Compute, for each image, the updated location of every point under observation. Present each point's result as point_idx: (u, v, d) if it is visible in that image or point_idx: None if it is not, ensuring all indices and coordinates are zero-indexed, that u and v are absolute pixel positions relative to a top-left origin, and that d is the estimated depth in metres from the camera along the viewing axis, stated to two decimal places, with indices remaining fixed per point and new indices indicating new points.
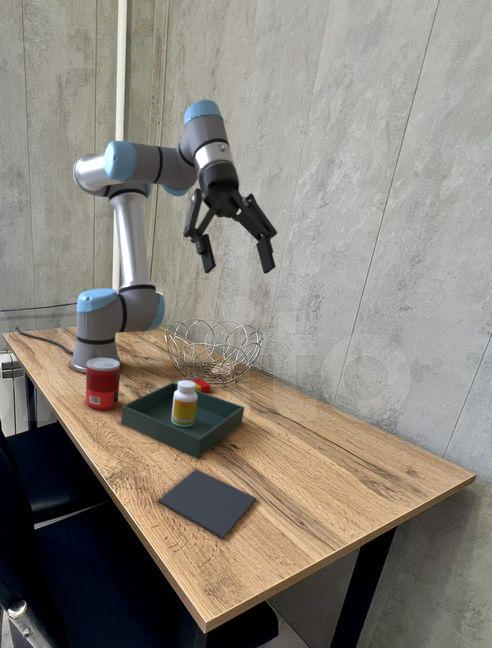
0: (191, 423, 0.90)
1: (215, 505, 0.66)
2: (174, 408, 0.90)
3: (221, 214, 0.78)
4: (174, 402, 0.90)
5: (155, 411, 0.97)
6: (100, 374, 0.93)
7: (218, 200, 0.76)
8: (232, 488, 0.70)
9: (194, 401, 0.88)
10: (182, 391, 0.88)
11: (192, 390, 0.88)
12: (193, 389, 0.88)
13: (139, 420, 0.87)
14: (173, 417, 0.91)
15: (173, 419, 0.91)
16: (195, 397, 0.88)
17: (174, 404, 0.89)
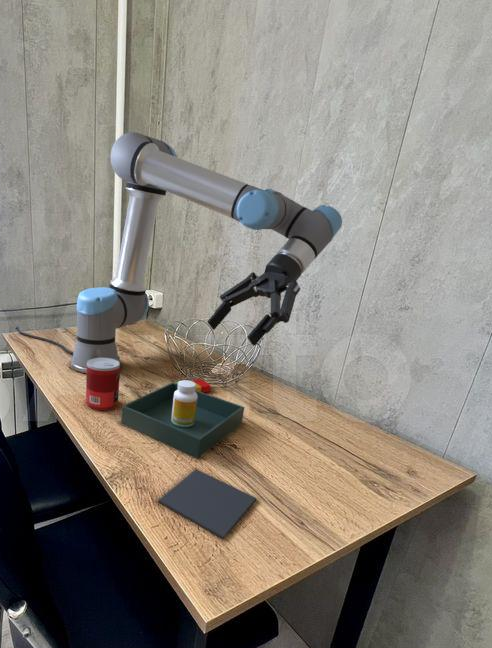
0: (191, 423, 0.90)
1: (215, 505, 0.66)
2: (174, 408, 0.90)
3: (267, 295, 0.90)
4: (174, 402, 0.90)
5: (155, 411, 0.97)
6: (100, 374, 0.93)
7: None
8: (232, 488, 0.70)
9: (194, 401, 0.88)
10: (182, 391, 0.88)
11: (192, 390, 0.88)
12: (193, 389, 0.88)
13: (139, 420, 0.87)
14: (173, 417, 0.91)
15: (173, 419, 0.91)
16: (195, 397, 0.88)
17: (174, 404, 0.89)
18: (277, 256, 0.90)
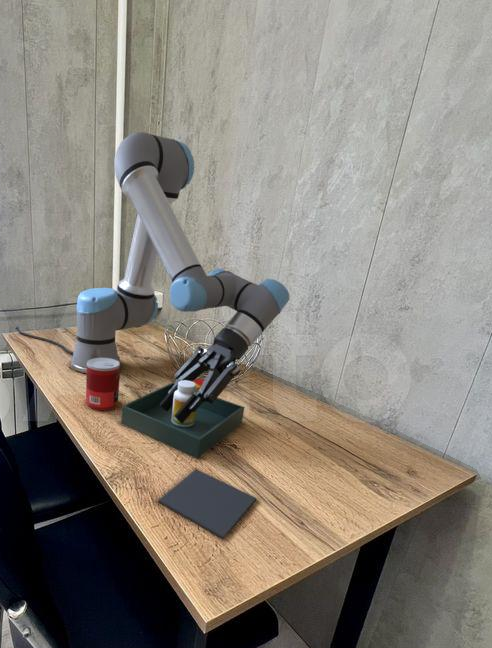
0: (191, 423, 0.90)
1: (215, 505, 0.66)
2: (174, 408, 0.90)
3: None
4: (174, 402, 0.90)
5: (155, 411, 0.97)
6: (100, 374, 0.93)
7: None
8: (232, 488, 0.70)
9: None
10: (182, 391, 0.88)
11: (192, 390, 0.88)
12: (193, 389, 0.88)
13: (139, 420, 0.87)
14: (173, 417, 0.91)
15: (173, 419, 0.91)
16: None
17: (174, 404, 0.89)
18: (224, 331, 0.90)
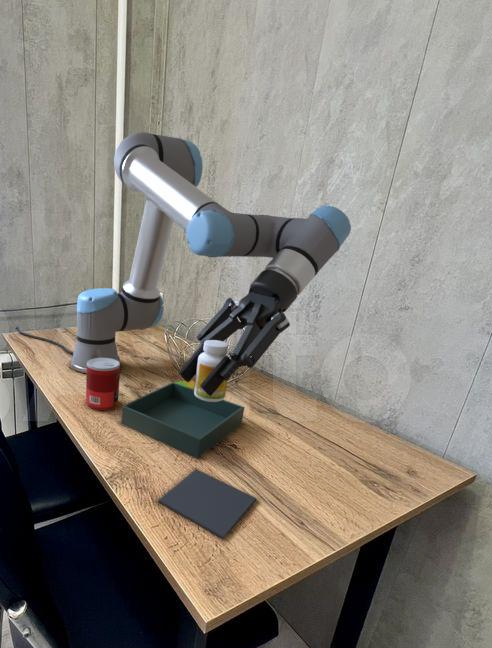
0: (221, 397, 0.68)
1: (215, 505, 0.66)
2: (199, 377, 0.67)
3: None
4: (199, 368, 0.67)
5: (155, 411, 0.97)
6: (100, 374, 0.93)
7: None
8: (232, 488, 0.70)
9: None
10: (210, 353, 0.65)
11: (224, 351, 0.65)
12: (225, 350, 0.65)
13: (139, 420, 0.87)
14: (197, 389, 0.68)
15: (197, 392, 0.68)
16: None
17: (199, 371, 0.67)
18: (265, 273, 0.67)
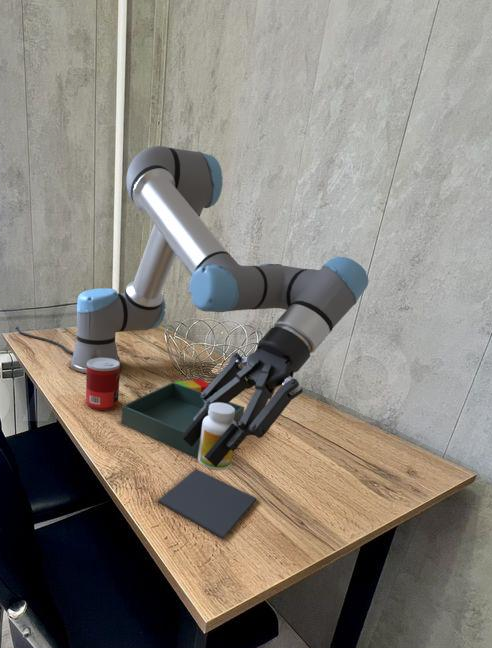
0: (228, 464, 0.62)
1: (215, 505, 0.66)
2: (203, 443, 0.62)
3: None
4: (203, 435, 0.62)
5: (155, 411, 0.97)
6: (100, 374, 0.93)
7: None
8: (232, 488, 0.70)
9: None
10: (216, 419, 0.60)
11: (230, 418, 0.60)
12: (232, 416, 0.60)
13: (139, 420, 0.87)
14: (201, 456, 0.63)
15: (201, 458, 0.63)
16: None
17: (204, 437, 0.62)
18: (275, 331, 0.62)
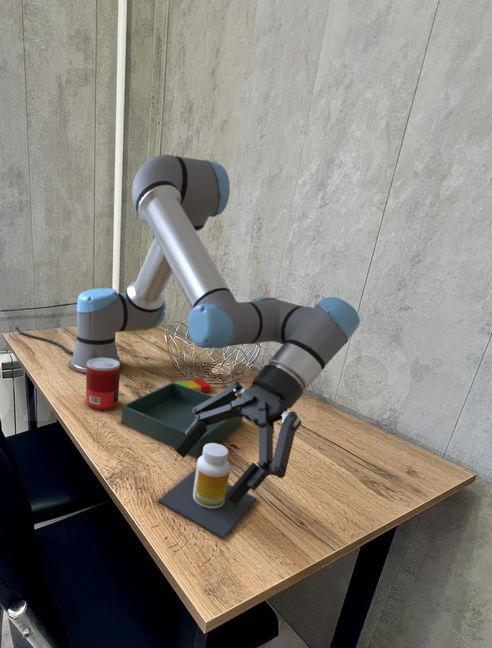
0: (221, 503, 0.65)
1: None
2: (198, 483, 0.65)
3: (255, 423, 0.65)
4: (198, 475, 0.64)
5: (155, 411, 0.97)
6: (100, 374, 0.93)
7: None
8: None
9: (226, 475, 0.63)
10: (210, 461, 0.63)
11: (224, 460, 0.63)
12: (225, 458, 0.63)
13: (139, 420, 0.87)
14: (196, 494, 0.66)
15: (196, 497, 0.66)
16: (227, 469, 0.63)
17: (198, 477, 0.64)
18: (269, 369, 0.64)
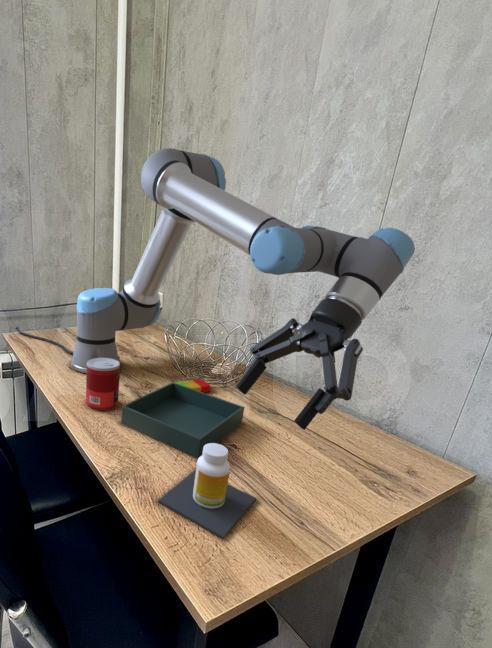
0: (221, 503, 0.65)
1: None
2: (198, 483, 0.65)
3: (316, 354, 0.68)
4: (198, 474, 0.64)
5: (155, 411, 0.97)
6: (100, 374, 0.93)
7: None
8: (232, 488, 0.70)
9: (226, 474, 0.63)
10: (210, 461, 0.63)
11: (224, 460, 0.63)
12: (225, 458, 0.63)
13: (139, 420, 0.87)
14: (196, 494, 0.66)
15: (196, 497, 0.66)
16: (227, 469, 0.63)
17: (198, 477, 0.64)
18: (328, 302, 0.67)
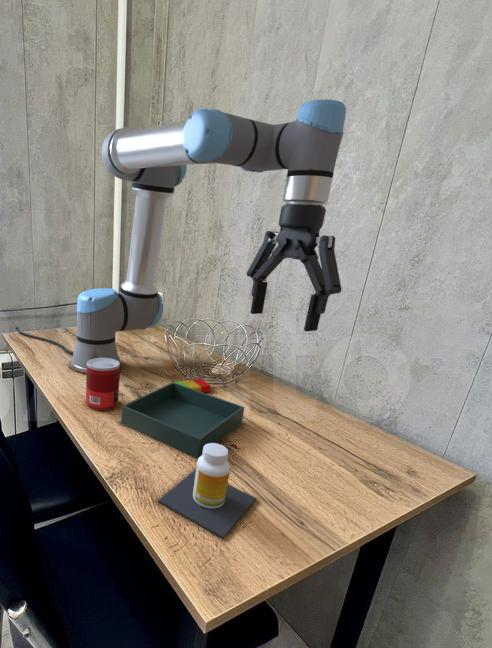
0: (221, 503, 0.65)
1: None
2: (198, 483, 0.65)
3: (299, 259, 0.73)
4: (198, 474, 0.64)
5: (155, 411, 0.97)
6: (100, 374, 0.93)
7: None
8: (232, 488, 0.70)
9: (226, 474, 0.63)
10: (210, 461, 0.63)
11: (224, 460, 0.63)
12: (225, 458, 0.63)
13: (139, 420, 0.87)
14: (196, 494, 0.66)
15: (196, 497, 0.66)
16: (227, 469, 0.63)
17: (198, 477, 0.64)
18: (286, 211, 0.70)
